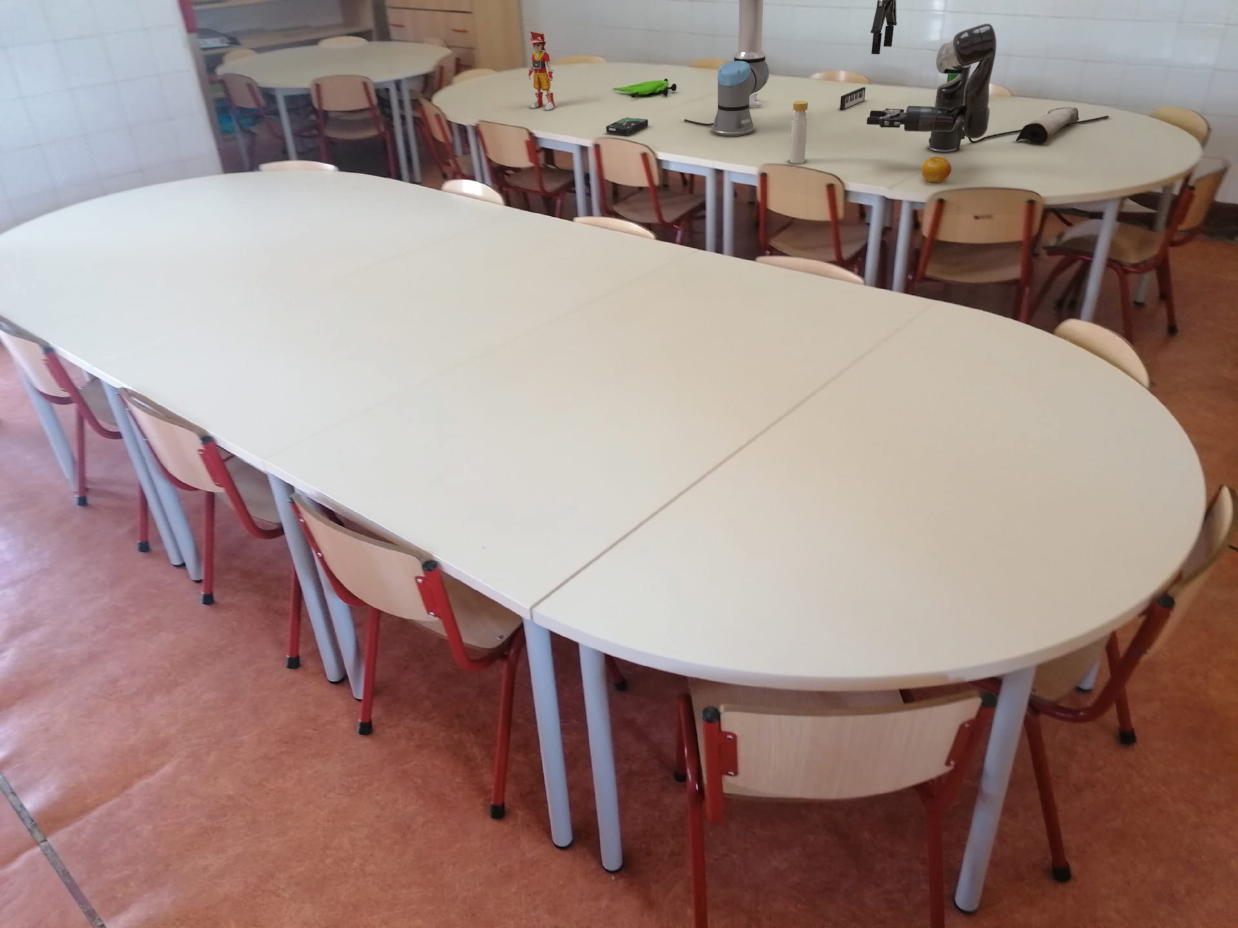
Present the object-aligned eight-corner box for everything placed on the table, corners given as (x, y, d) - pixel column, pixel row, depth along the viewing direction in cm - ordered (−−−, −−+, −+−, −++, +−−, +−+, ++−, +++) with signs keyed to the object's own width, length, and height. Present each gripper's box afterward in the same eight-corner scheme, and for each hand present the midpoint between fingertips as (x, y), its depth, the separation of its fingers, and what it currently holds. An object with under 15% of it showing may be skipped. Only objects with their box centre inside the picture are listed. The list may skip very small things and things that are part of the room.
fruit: (915, 172, 274) (932, 149, 271) (916, 174, 282) (933, 152, 279) (938, 188, 273) (956, 164, 270) (939, 189, 281) (956, 167, 278)
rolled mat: (1045, 112, 324) (1070, 94, 316) (1059, 133, 324) (1084, 116, 316) (1011, 135, 307) (1037, 117, 298) (1026, 157, 307) (1052, 140, 299)
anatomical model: (728, 79, 370) (752, 73, 369) (732, 105, 376) (756, 98, 375) (735, 87, 358) (759, 81, 357) (739, 114, 364) (763, 107, 363)
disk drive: (628, 136, 338) (648, 126, 348) (628, 129, 337) (648, 118, 347) (605, 134, 343) (625, 123, 353) (605, 126, 341) (625, 116, 351)
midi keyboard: (842, 110, 354) (843, 96, 351) (839, 109, 354) (840, 96, 351) (864, 100, 364) (865, 87, 361) (861, 100, 365) (863, 87, 362)
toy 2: (686, 85, 398) (631, 84, 414) (685, 72, 395) (629, 72, 411) (651, 104, 381) (596, 103, 397) (650, 92, 378) (594, 91, 394)
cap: (800, 107, 295) (800, 100, 294) (810, 109, 292) (810, 102, 291) (790, 109, 293) (790, 102, 292) (800, 112, 290) (800, 105, 288)
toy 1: (525, 109, 381) (517, 32, 364) (534, 104, 388) (527, 28, 371) (550, 110, 377) (543, 32, 360) (559, 105, 384) (553, 28, 367)
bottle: (797, 158, 305) (800, 101, 294) (807, 161, 301) (811, 103, 291) (786, 161, 302) (789, 104, 292) (797, 164, 299) (800, 106, 288)
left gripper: (889, -14, 286) (881, 58, 298) (910, -24, 303) (902, 44, 315) (865, -14, 289) (859, 57, 301) (888, -25, 306) (881, 43, 318)
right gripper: (924, 101, 285) (872, 100, 290) (921, 112, 274) (867, 110, 279) (920, 125, 290) (869, 124, 294) (917, 137, 279) (864, 135, 283)
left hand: (881, 50), depth 308 cm, fingers open, 13 cm apart
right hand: (868, 117), depth 287 cm, fingers open, 8 cm apart
